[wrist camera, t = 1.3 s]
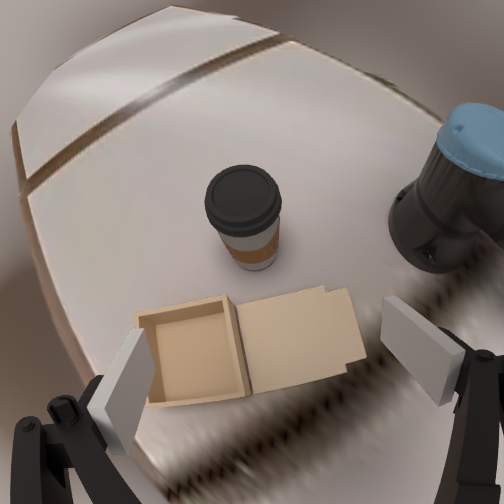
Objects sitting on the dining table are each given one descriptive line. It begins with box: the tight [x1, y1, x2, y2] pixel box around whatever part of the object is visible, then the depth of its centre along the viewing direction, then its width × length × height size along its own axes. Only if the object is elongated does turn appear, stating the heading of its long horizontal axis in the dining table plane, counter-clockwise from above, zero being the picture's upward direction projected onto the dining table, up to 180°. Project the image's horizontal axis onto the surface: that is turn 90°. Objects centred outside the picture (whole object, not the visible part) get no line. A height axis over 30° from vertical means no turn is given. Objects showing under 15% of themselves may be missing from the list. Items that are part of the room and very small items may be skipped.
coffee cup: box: [205, 165, 282, 271], centre depth 38 cm, size 8×8×15 cm
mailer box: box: [134, 285, 367, 408], centre depth 37 cm, size 28×12×6 cm, turn 101°
